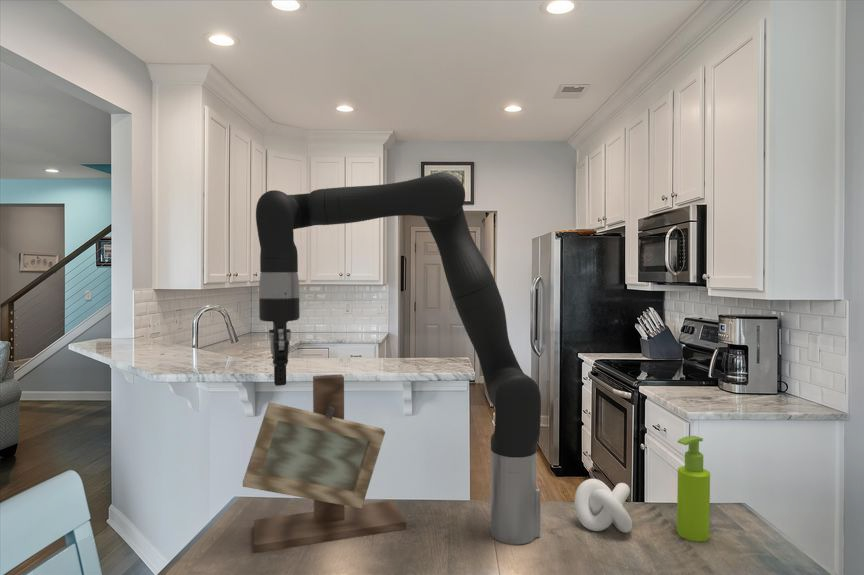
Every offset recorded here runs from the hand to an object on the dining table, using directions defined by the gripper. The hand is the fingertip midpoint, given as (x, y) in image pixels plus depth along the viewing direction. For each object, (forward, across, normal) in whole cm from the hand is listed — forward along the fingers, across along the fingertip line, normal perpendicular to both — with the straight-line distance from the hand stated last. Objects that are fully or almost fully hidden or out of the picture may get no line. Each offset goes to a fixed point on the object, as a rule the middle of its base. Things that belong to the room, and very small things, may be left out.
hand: (280, 384), depth 105 cm
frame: (+22, 0, -4) cm, 23 cm away
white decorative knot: (+32, -15, -65) cm, 74 cm away
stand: (+31, +3, -10) cm, 33 cm away
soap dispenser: (+32, -23, -79) cm, 88 cm away
